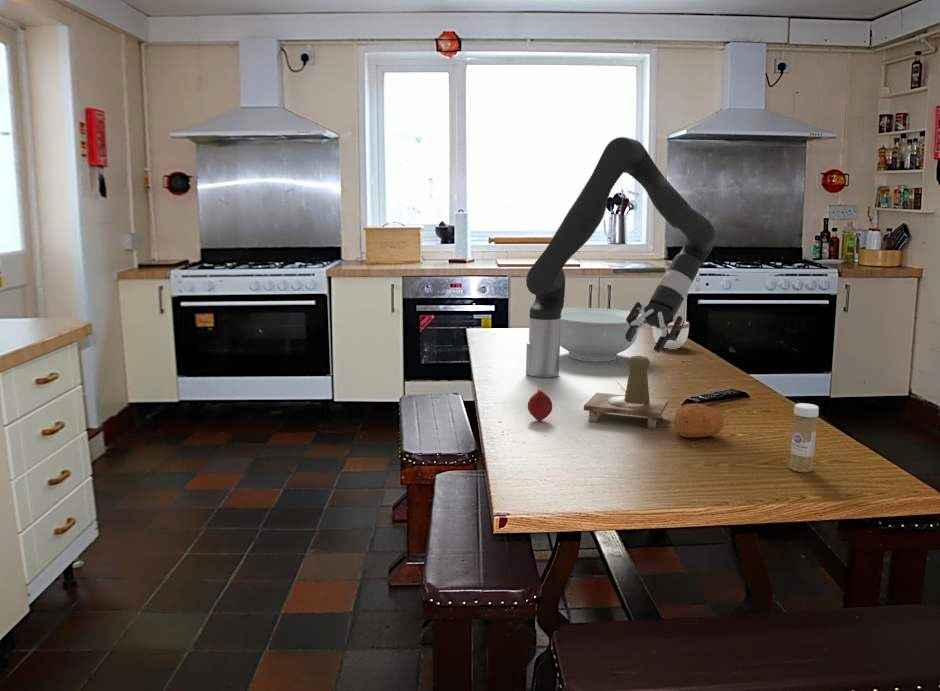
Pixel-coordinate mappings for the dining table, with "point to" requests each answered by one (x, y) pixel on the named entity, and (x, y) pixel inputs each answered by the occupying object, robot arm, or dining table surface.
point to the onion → (540, 405)
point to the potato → (698, 421)
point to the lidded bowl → (680, 339)
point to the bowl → (594, 333)
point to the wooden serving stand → (625, 407)
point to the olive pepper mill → (637, 380)
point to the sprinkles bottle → (803, 437)
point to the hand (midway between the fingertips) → (641, 345)
